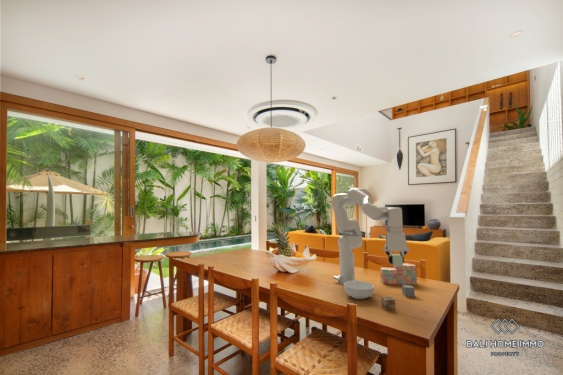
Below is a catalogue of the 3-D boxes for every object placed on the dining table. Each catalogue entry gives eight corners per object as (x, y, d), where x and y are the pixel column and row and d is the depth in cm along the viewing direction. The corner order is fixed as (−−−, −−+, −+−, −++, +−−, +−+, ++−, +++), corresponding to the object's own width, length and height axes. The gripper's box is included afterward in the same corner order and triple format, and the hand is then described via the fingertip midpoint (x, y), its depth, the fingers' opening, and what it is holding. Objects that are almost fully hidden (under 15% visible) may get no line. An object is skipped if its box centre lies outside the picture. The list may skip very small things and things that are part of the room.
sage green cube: (393, 265, 143) (393, 256, 143) (389, 263, 148) (389, 254, 148) (402, 265, 143) (402, 256, 143) (399, 263, 148) (398, 254, 148)
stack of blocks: (383, 284, 175) (382, 265, 176) (380, 281, 181) (380, 262, 182) (417, 284, 173) (416, 265, 173) (413, 281, 179) (412, 263, 179)
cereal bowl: (370, 304, 140) (369, 291, 141) (339, 298, 149) (339, 286, 150) (377, 294, 155) (377, 282, 155) (349, 290, 164) (349, 278, 164)
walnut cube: (385, 310, 133) (385, 300, 133) (382, 306, 138) (381, 296, 138) (395, 310, 133) (395, 300, 133) (391, 306, 138) (391, 296, 138)
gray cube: (405, 296, 151) (405, 287, 152) (402, 293, 156) (401, 285, 157) (414, 296, 151) (414, 287, 151) (410, 293, 156) (410, 285, 156)
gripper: (381, 230, 143) (382, 265, 142) (414, 230, 142) (415, 265, 141) (377, 229, 150) (378, 261, 149) (407, 229, 150) (409, 261, 149)
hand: (396, 263), depth 145 cm, fingers closed on sage green cube, 4 cm apart
